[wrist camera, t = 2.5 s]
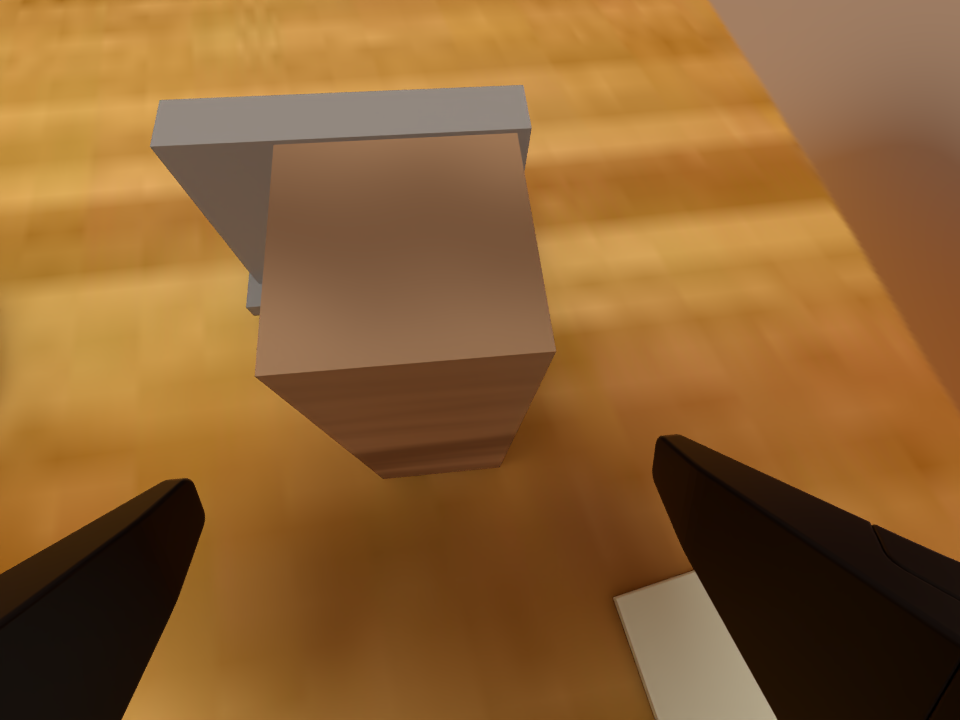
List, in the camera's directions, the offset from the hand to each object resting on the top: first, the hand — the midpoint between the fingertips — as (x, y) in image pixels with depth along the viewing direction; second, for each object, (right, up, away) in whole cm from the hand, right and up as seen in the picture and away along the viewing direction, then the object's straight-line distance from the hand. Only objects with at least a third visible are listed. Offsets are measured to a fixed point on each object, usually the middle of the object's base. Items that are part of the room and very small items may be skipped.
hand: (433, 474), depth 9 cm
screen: (-4, +7, +14) cm, 16 cm away
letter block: (-1, 0, +12) cm, 12 cm away
